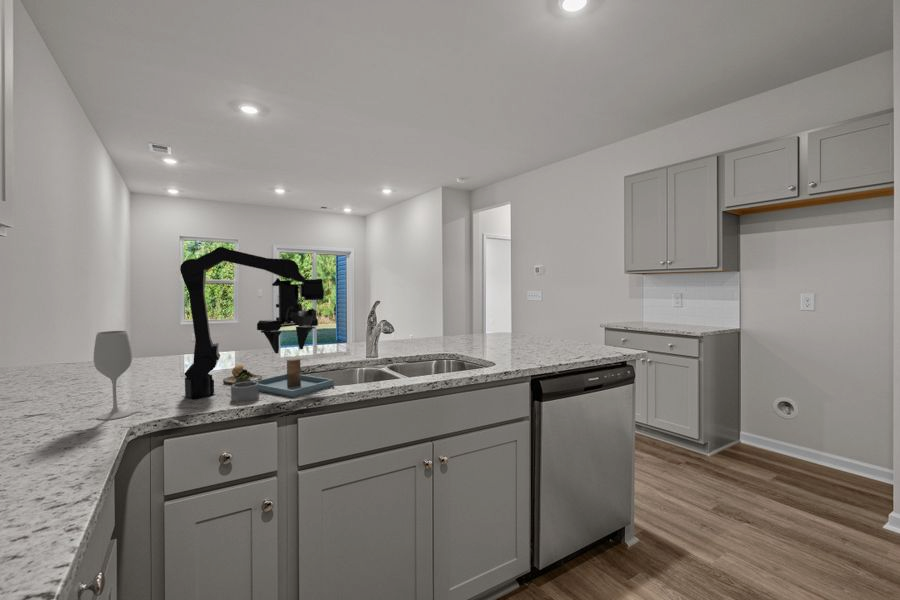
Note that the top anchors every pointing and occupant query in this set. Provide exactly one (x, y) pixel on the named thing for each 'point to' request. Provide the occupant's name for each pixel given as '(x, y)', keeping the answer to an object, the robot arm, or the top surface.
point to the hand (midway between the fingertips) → (289, 351)
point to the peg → (293, 372)
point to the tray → (280, 387)
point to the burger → (240, 376)
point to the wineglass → (113, 364)
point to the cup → (245, 391)
